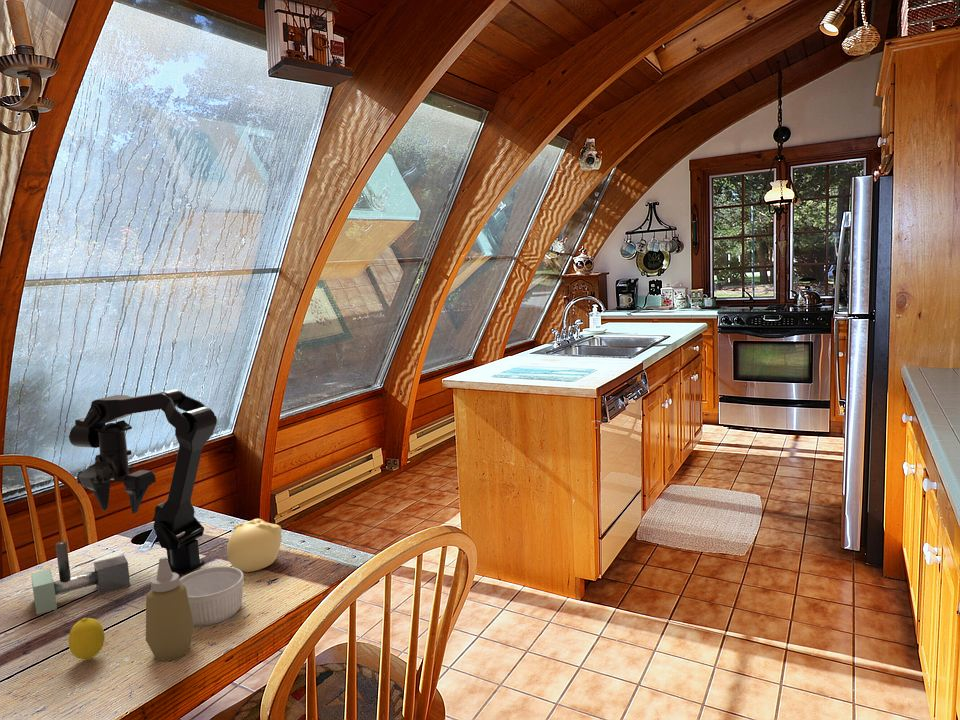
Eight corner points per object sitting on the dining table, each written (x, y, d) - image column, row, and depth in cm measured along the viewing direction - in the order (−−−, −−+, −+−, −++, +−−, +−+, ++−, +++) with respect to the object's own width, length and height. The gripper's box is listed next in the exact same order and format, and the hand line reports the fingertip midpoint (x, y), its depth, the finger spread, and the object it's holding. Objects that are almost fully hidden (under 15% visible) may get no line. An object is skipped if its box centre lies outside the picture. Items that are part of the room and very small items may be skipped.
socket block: (53, 594, 145) (50, 568, 144) (57, 609, 139) (53, 582, 138) (34, 600, 143) (30, 573, 142) (36, 614, 137) (33, 587, 136)
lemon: (80, 652, 122) (76, 611, 121) (112, 649, 123) (107, 609, 122) (64, 670, 117) (59, 627, 116) (97, 667, 117) (92, 625, 116)
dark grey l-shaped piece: (102, 579, 148) (97, 532, 147) (104, 584, 146) (99, 536, 144) (38, 596, 141) (32, 547, 140) (39, 601, 139) (33, 551, 137)
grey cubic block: (126, 578, 152) (123, 555, 151) (130, 585, 148) (127, 562, 147) (96, 586, 148) (93, 562, 148) (99, 594, 145) (96, 570, 144)
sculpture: (289, 555, 162) (286, 513, 160) (265, 578, 150) (262, 532, 149) (246, 553, 164) (242, 511, 162) (219, 575, 152) (215, 530, 151)
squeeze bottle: (148, 670, 116) (137, 572, 114) (147, 647, 123) (137, 555, 121) (198, 656, 120) (189, 561, 117) (194, 635, 127) (185, 545, 124)
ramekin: (214, 634, 127) (211, 600, 126) (160, 624, 132) (157, 590, 131) (259, 601, 140) (257, 570, 139) (209, 592, 144) (206, 562, 143)
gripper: (53, 455, 154) (60, 520, 156) (115, 460, 149) (122, 527, 151) (94, 443, 165) (100, 503, 167) (154, 447, 159) (160, 510, 161)
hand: (119, 511), depth 161 cm, fingers open, 9 cm apart
